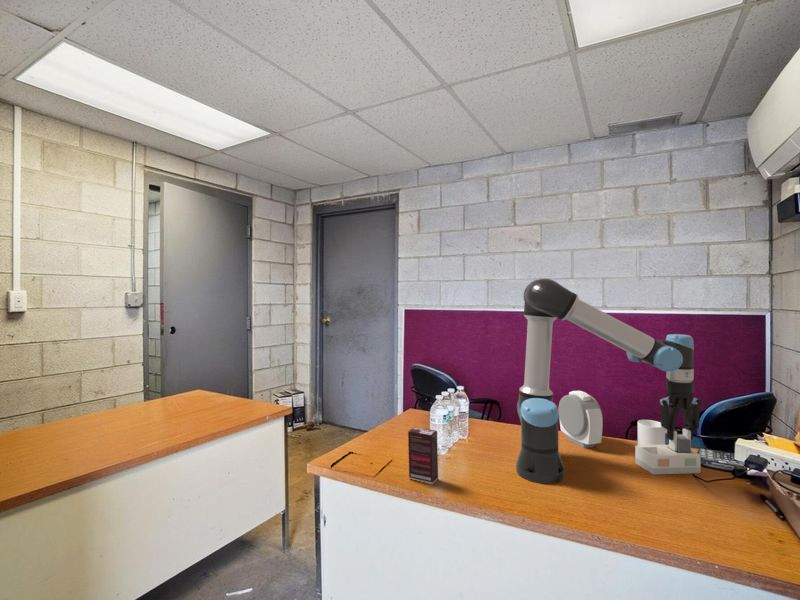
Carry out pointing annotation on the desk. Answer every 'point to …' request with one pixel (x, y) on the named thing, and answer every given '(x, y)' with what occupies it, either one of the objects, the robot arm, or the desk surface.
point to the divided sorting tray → (666, 460)
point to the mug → (651, 433)
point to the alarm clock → (581, 419)
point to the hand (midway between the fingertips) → (679, 448)
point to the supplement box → (423, 455)
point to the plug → (683, 444)
